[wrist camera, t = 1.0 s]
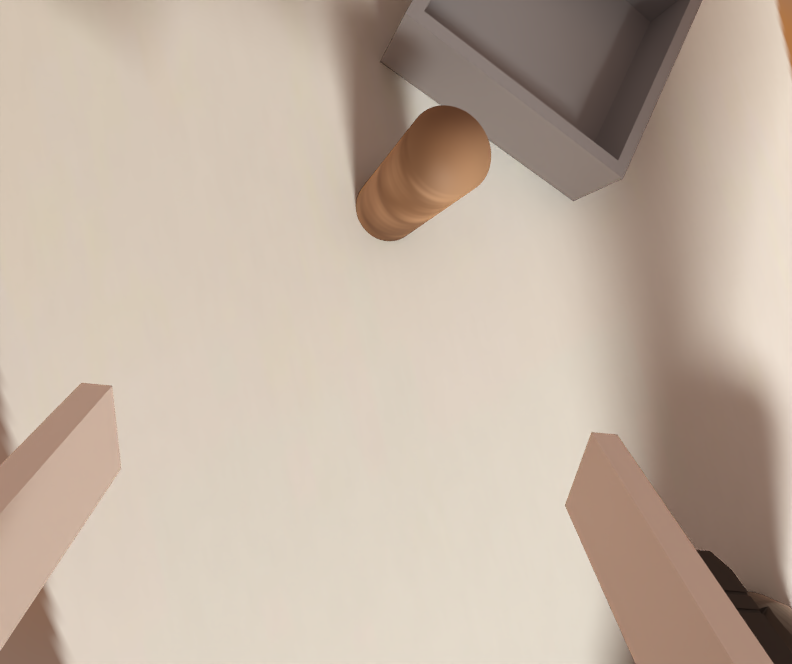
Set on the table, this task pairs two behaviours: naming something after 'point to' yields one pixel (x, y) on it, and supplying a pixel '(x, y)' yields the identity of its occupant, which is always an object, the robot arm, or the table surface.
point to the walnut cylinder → (424, 173)
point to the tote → (548, 75)
